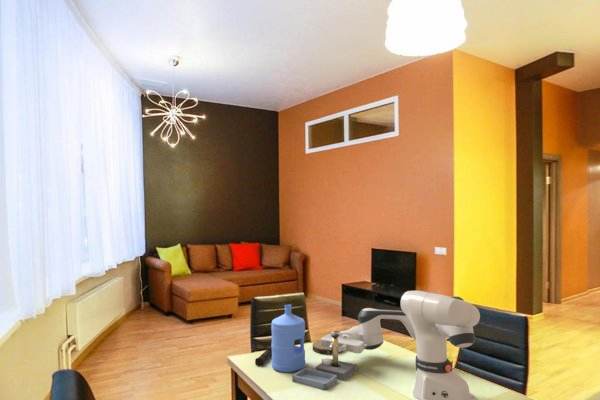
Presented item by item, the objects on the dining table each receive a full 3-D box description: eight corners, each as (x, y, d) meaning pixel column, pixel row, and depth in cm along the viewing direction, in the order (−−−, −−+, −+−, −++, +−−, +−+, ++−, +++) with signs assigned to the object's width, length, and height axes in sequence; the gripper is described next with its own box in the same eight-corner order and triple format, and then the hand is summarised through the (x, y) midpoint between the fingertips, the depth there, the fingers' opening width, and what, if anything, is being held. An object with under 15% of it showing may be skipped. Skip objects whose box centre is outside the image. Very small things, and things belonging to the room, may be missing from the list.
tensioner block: (356, 371, 178) (355, 361, 178) (343, 380, 168) (343, 369, 168) (328, 365, 186) (328, 355, 186) (315, 373, 176) (315, 363, 176)
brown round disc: (311, 345, 215) (311, 339, 215) (340, 344, 216) (340, 338, 216) (314, 355, 199) (314, 349, 199) (345, 354, 200) (345, 348, 200)
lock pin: (340, 369, 177) (340, 333, 178) (337, 372, 174) (336, 335, 175) (334, 368, 179) (333, 332, 180) (330, 370, 176) (329, 334, 177)
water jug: (270, 373, 177) (270, 309, 178) (272, 360, 192) (271, 301, 193) (306, 372, 177) (305, 308, 178) (304, 359, 193) (304, 301, 194)
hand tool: (262, 367, 184) (262, 357, 185) (254, 366, 186) (254, 356, 186) (277, 353, 202) (277, 344, 203) (270, 353, 204) (270, 343, 204)
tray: (337, 381, 167) (337, 375, 167) (325, 390, 159) (325, 383, 159) (305, 373, 176) (305, 367, 176) (292, 381, 168) (292, 375, 168)
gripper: (369, 351, 182) (356, 360, 171) (329, 343, 193) (314, 352, 182) (368, 337, 182) (355, 345, 171) (329, 330, 194) (314, 338, 182)
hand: (334, 349), depth 176 cm, fingers closed on lock pin, 2 cm apart
